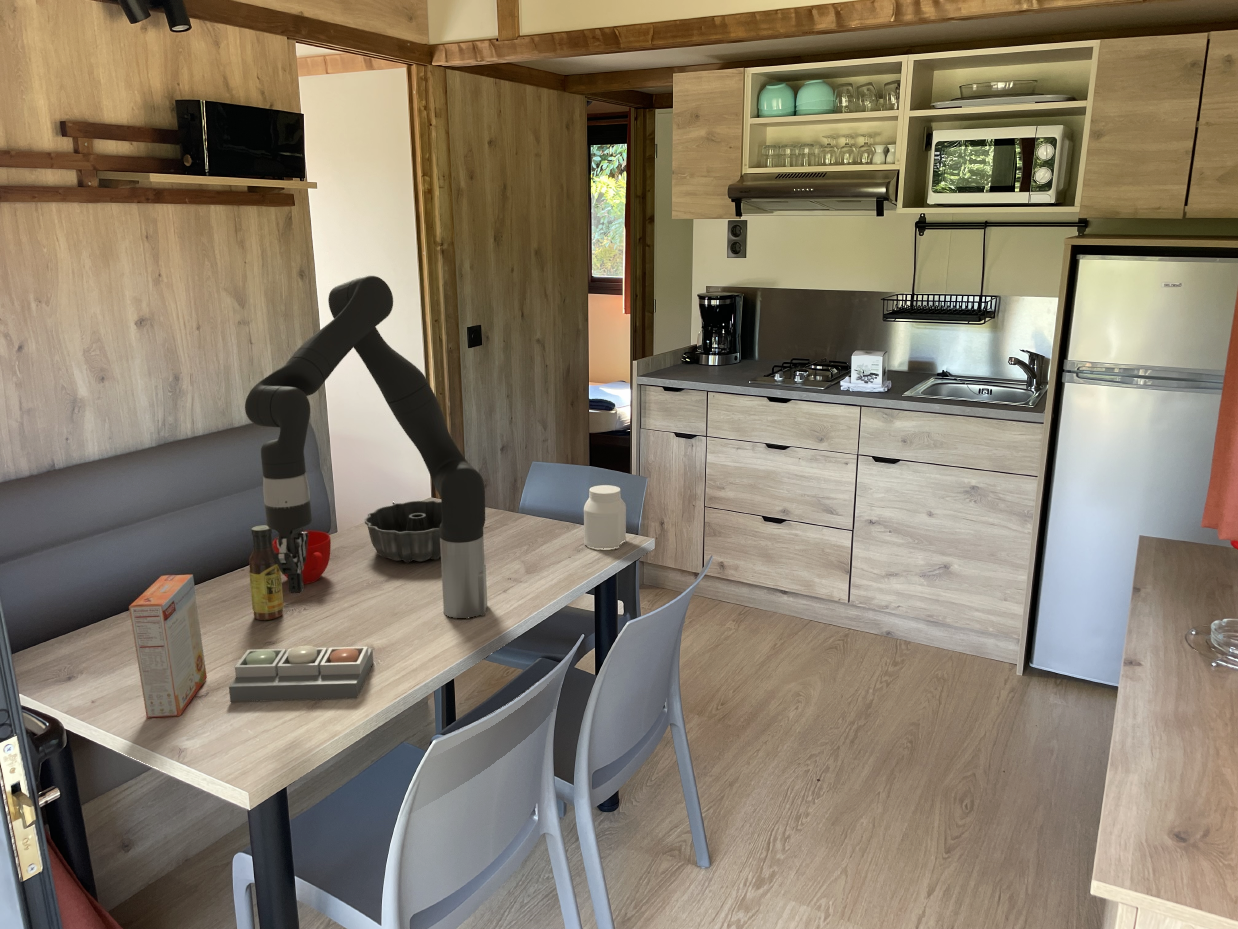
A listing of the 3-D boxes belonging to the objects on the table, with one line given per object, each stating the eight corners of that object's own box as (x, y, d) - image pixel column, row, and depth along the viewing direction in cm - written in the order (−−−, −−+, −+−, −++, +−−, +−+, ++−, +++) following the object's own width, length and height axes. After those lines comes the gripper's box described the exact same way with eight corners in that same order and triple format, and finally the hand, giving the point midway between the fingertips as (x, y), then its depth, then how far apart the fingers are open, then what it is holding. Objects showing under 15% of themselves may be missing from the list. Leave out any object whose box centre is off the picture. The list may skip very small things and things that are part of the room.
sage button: (279, 657, 170) (278, 649, 169) (271, 669, 165) (270, 662, 164) (252, 658, 169) (251, 650, 169) (242, 670, 164) (242, 663, 164)
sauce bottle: (273, 622, 194) (264, 533, 189) (247, 620, 195) (237, 531, 190) (290, 610, 200) (282, 524, 195) (264, 608, 201) (255, 522, 196)
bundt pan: (423, 576, 220) (421, 537, 218) (344, 558, 233) (341, 520, 231) (491, 545, 242) (489, 509, 240) (416, 529, 255) (414, 495, 253)
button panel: (373, 662, 176) (371, 638, 175) (357, 698, 162) (355, 672, 161) (256, 665, 175) (254, 641, 173) (230, 702, 161) (227, 676, 160)
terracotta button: (361, 655, 170) (361, 647, 170) (355, 667, 166) (355, 660, 165) (334, 656, 170) (333, 648, 170) (327, 668, 165) (326, 660, 165)
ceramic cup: (296, 598, 207) (292, 556, 204) (267, 578, 219) (263, 538, 217) (350, 584, 215) (346, 544, 213) (319, 565, 227) (316, 527, 225)
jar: (596, 535, 250) (595, 482, 246) (629, 538, 247) (629, 485, 243) (580, 548, 240) (579, 493, 236) (614, 552, 236) (614, 496, 233)
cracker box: (174, 680, 169) (160, 574, 164) (208, 679, 169) (195, 573, 164) (142, 719, 155) (126, 604, 150) (179, 717, 156) (164, 603, 151)
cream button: (320, 652, 170) (319, 645, 169) (313, 665, 165) (312, 657, 165) (293, 653, 170) (292, 645, 169) (285, 665, 165) (284, 658, 164)
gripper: (298, 509, 154) (307, 605, 158) (319, 488, 166) (327, 577, 171) (252, 510, 153) (263, 607, 158) (277, 489, 166) (286, 578, 170)
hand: (296, 591), depth 164 cm, fingers closed
